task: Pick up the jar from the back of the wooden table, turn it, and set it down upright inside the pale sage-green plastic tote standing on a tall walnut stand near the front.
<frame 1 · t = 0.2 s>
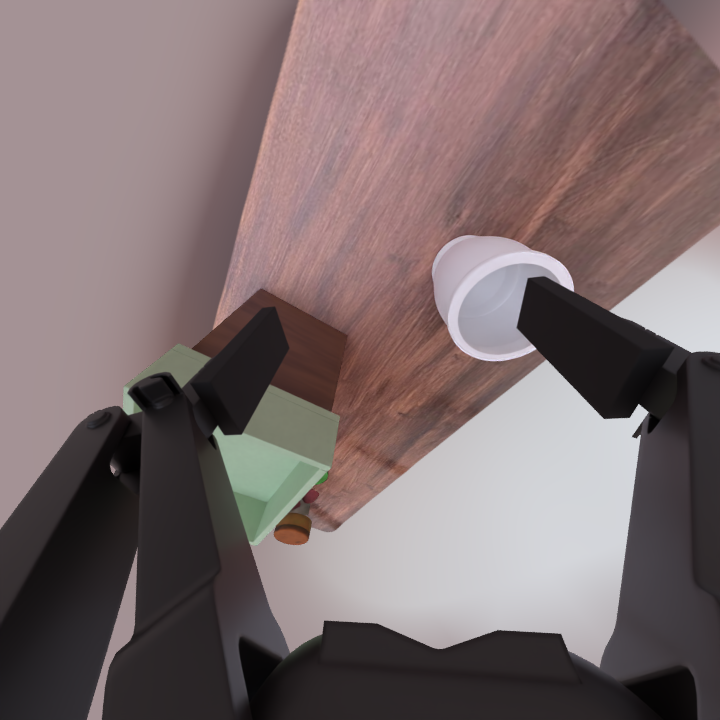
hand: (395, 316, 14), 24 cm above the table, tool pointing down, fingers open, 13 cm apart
tote: (237, 440, 30), resting on stand
jar: (462, 267, 35), on the table
toy figurine: (305, 470, 65), on the table
stand: (283, 357, 45), on the table
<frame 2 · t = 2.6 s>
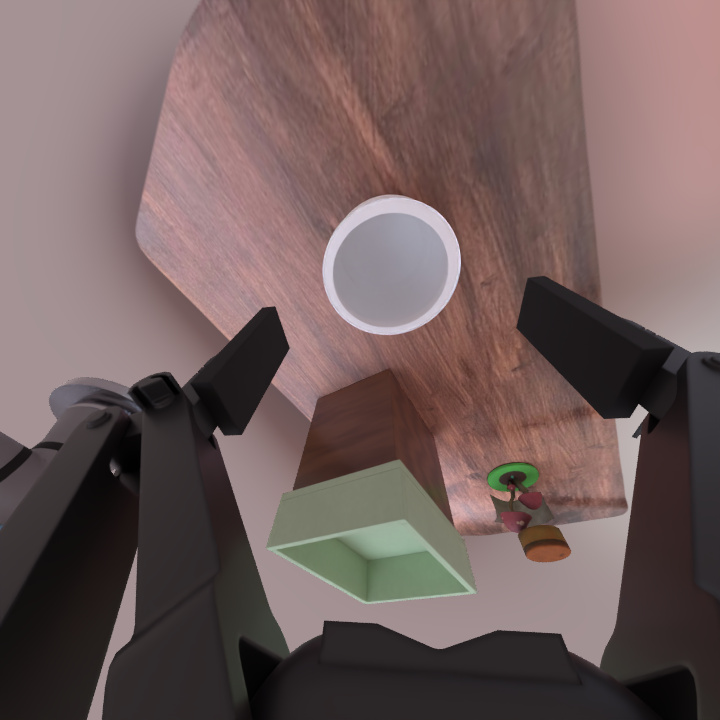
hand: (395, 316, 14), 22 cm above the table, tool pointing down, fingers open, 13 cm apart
tote: (379, 517, 35), resting on stand
jar: (384, 241, 32), on the table
toy figurine: (508, 476, 58), on the table
stand: (378, 419, 50), on the table
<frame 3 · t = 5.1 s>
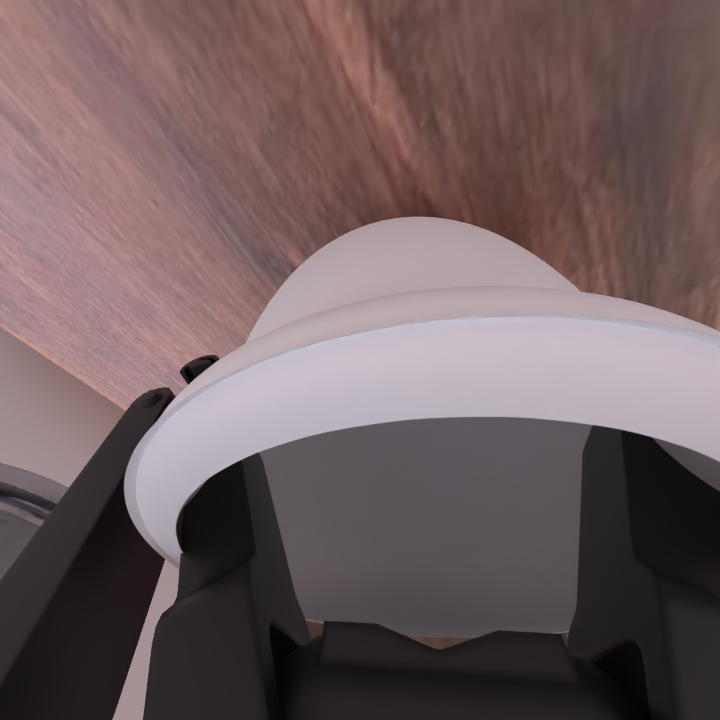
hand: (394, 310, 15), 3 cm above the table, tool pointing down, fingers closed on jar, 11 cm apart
jar: (392, 292, 17), on the table, touching gripper
stand: (379, 519, 35), on the table
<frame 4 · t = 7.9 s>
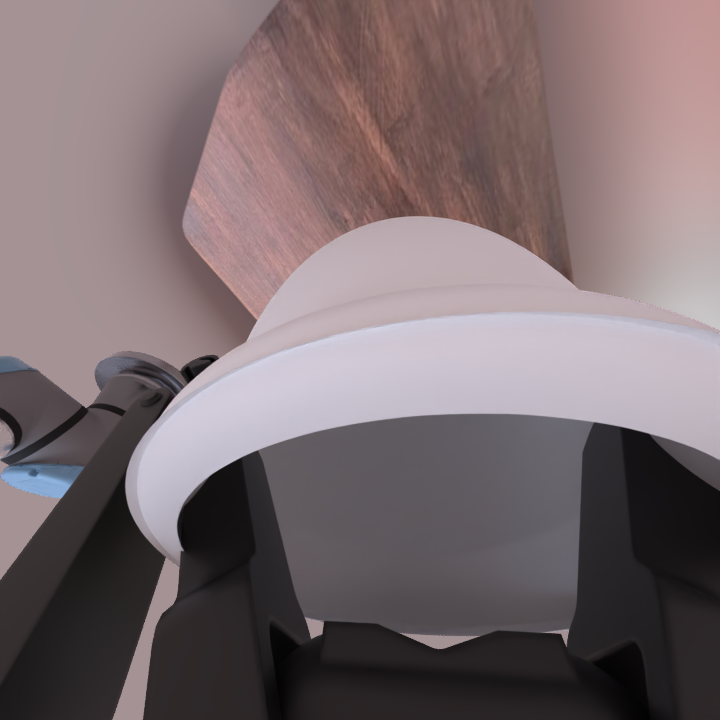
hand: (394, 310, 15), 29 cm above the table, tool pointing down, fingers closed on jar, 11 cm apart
jar: (391, 291, 17), point 26 cm above the table, touching gripper
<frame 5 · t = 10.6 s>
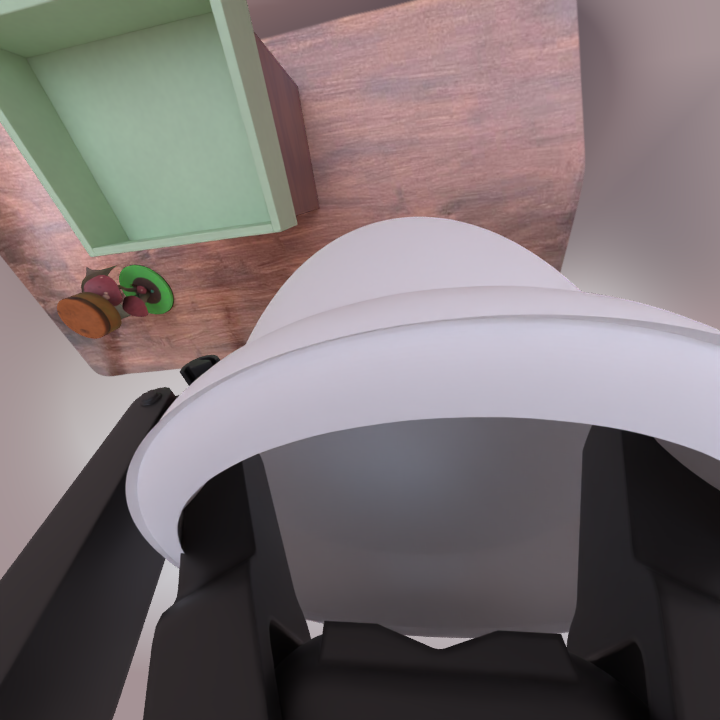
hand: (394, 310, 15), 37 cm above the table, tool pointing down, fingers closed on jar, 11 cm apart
tote: (178, 149, 27), resting on stand
jar: (392, 292, 17), point 34 cm above the table, touching gripper
toy figurine: (147, 287, 55), on the table
stand: (250, 163, 41), on the table
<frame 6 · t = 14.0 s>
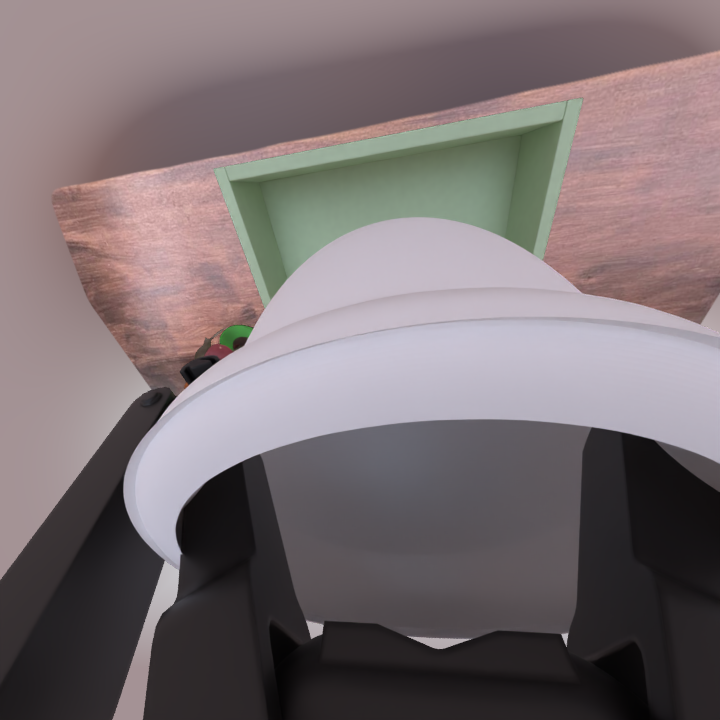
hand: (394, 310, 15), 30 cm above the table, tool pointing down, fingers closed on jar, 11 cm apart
tote: (388, 259, 24), resting on stand
jar: (392, 292, 17), point 27 cm above the table, touching gripper
toy figurine: (246, 344, 53), on the table
when the fingers open (22 cm above the table, at t = 16.5 s): jar stays where it is, resting on tote.
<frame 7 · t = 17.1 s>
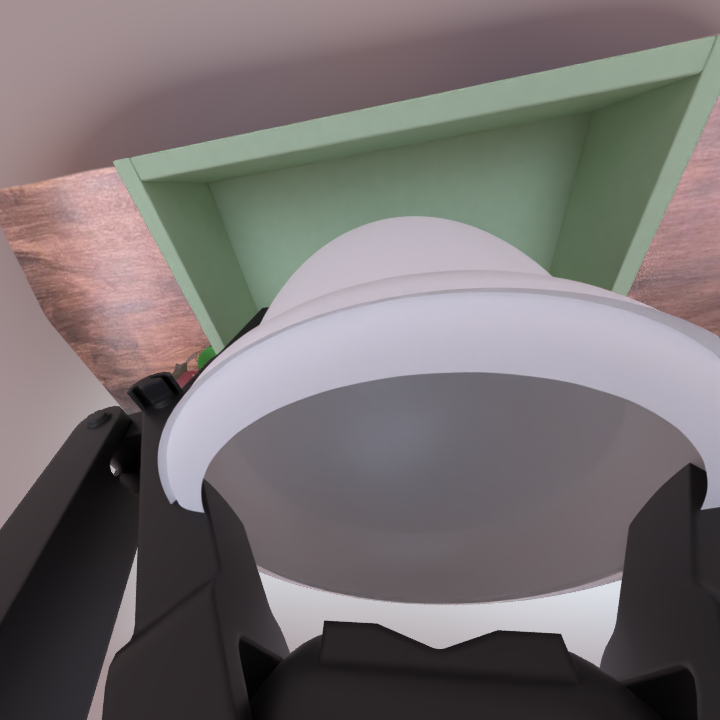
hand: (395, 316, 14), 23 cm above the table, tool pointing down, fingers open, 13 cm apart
tote: (390, 285, 18), resting on stand
jar: (391, 289, 18), point 19 cm above the table, touching tote
toy figurine: (228, 366, 47), on the table
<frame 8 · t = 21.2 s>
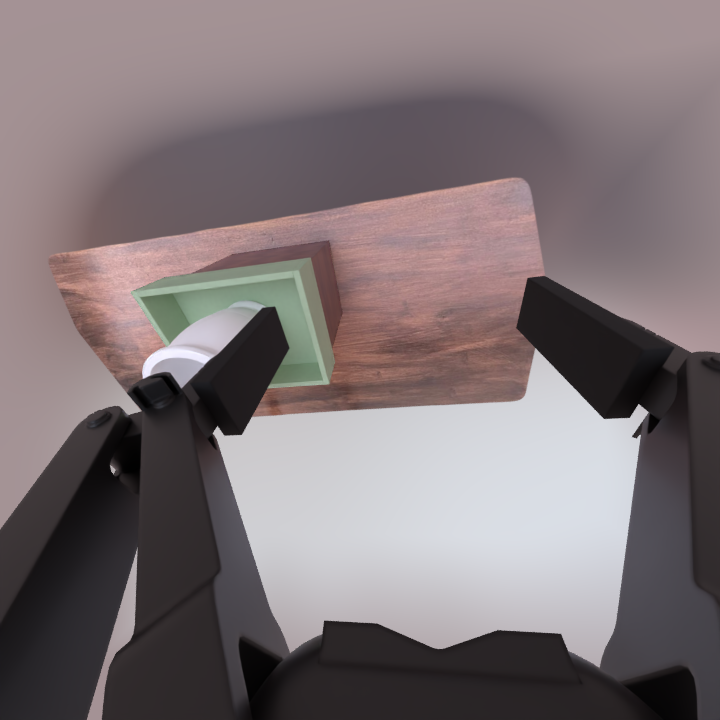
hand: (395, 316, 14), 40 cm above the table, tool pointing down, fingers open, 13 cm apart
tote: (256, 322, 39), resting on stand
jar: (254, 325, 39), point 19 cm above the table, touching tote
stand: (290, 285, 54), on the table
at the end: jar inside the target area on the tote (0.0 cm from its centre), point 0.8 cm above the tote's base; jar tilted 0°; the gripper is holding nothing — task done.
